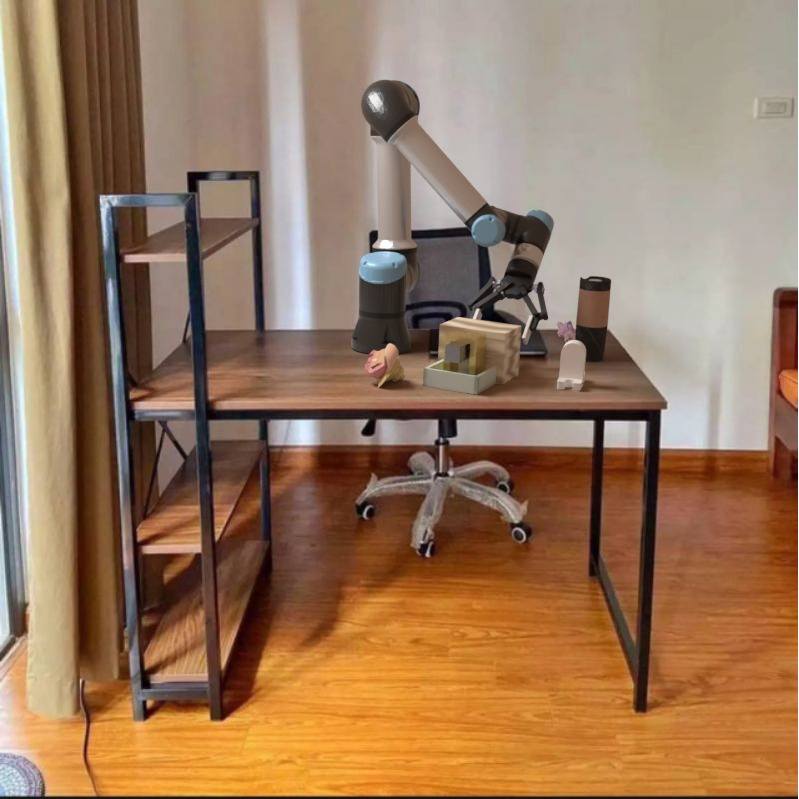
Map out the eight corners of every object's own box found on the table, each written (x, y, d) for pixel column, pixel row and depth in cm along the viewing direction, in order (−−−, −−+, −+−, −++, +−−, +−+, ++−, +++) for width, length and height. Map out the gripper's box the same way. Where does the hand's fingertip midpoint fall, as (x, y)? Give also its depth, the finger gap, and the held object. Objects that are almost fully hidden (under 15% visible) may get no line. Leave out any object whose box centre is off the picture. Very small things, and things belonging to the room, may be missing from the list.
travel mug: (604, 363, 249) (611, 282, 243) (572, 360, 250) (579, 280, 245) (604, 355, 256) (611, 277, 250) (573, 353, 258) (580, 275, 252)
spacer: (452, 370, 231) (454, 330, 228) (483, 375, 228) (485, 334, 225) (442, 375, 227) (444, 334, 224) (474, 380, 224) (476, 338, 221)
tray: (423, 385, 225) (423, 368, 224) (443, 375, 234) (444, 358, 233) (477, 394, 219) (478, 377, 218) (495, 383, 228) (496, 366, 227)
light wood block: (455, 365, 243) (457, 317, 240) (518, 375, 236) (521, 325, 233) (437, 374, 234) (439, 324, 231) (502, 384, 227) (505, 333, 224)
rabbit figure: (583, 351, 267) (572, 329, 280) (586, 329, 264) (575, 309, 278) (560, 350, 266) (550, 328, 280) (562, 329, 264) (552, 308, 277)
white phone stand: (584, 380, 233) (588, 338, 230) (580, 392, 224) (584, 347, 221) (561, 378, 235) (565, 335, 232) (556, 389, 225) (559, 345, 223)
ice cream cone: (397, 377, 233) (419, 354, 226) (387, 408, 226) (410, 385, 220) (363, 356, 231) (385, 333, 224) (353, 386, 224) (375, 363, 217)
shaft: (494, 336, 245) (495, 322, 244) (507, 338, 244) (508, 324, 243) (444, 360, 221) (445, 345, 220) (459, 363, 220) (460, 347, 219)
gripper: (473, 252, 253) (445, 322, 244) (569, 261, 242) (544, 335, 233) (480, 270, 259) (453, 339, 250) (574, 280, 248) (550, 353, 239)
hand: (497, 337), depth 242 cm, fingers open, 13 cm apart
